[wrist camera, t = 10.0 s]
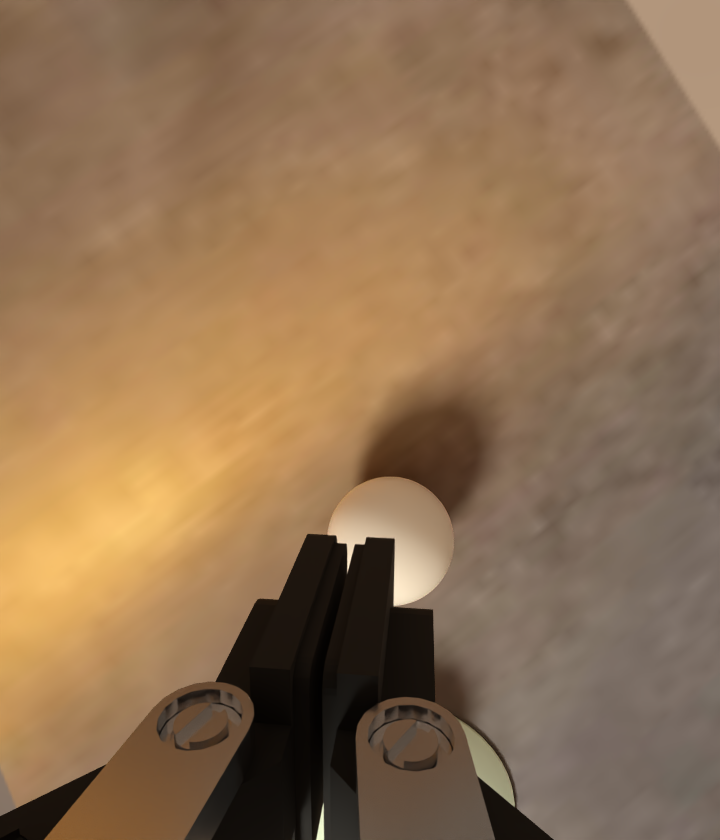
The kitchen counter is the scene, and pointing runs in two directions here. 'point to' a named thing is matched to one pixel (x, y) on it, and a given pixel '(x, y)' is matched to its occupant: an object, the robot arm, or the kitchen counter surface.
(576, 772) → the kitchen counter surface
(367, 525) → the cue ball
